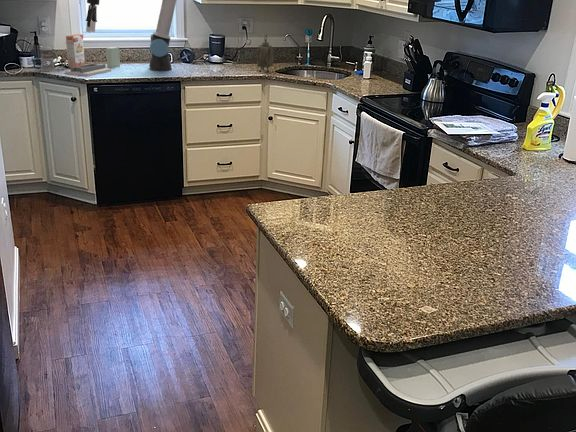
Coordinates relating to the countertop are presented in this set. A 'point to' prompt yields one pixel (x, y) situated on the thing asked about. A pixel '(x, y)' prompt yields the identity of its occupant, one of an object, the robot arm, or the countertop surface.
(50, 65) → the french press
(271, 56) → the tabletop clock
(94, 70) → the grey flat block
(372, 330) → the countertop surface
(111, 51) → the door panel
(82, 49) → the cracker box
